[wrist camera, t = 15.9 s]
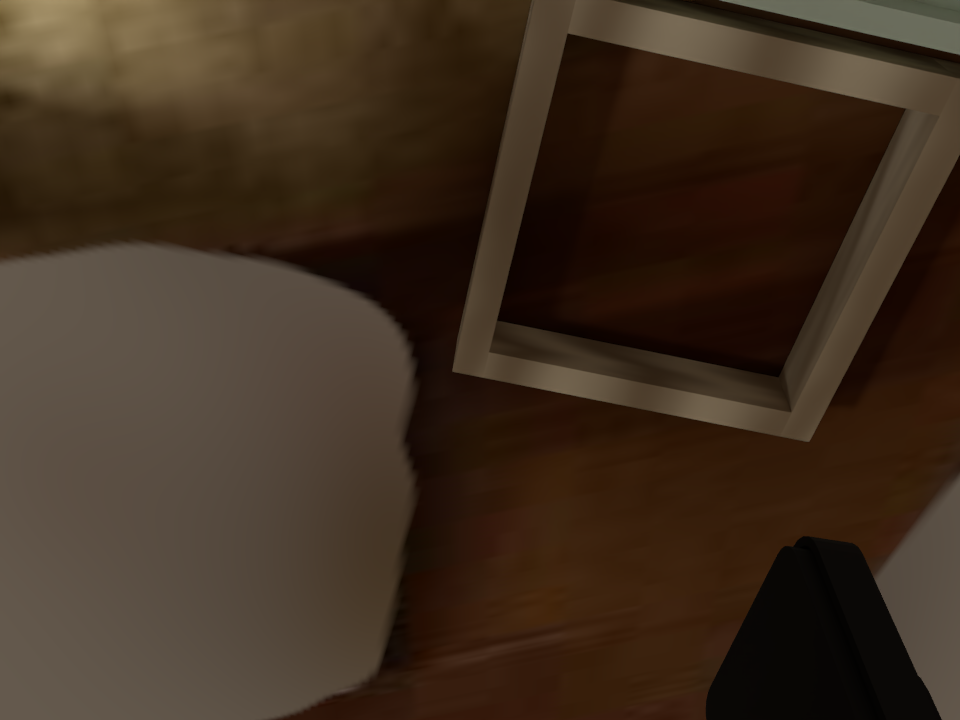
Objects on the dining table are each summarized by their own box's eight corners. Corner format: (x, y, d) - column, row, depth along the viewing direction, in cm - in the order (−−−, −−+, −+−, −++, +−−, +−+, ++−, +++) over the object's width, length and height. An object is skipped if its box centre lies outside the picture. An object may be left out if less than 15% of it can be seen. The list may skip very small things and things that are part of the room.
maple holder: (457, 338, 46) (452, 371, 44) (538, -32, 36) (538, -17, 34) (795, 405, 47) (809, 442, 45) (965, 64, 37) (995, 86, 35)
